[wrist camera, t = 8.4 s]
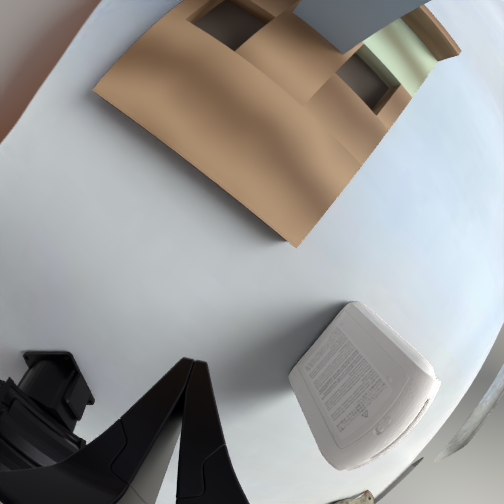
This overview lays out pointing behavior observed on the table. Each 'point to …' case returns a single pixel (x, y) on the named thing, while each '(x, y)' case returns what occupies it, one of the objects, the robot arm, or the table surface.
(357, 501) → the decorative bird
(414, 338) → the table surface
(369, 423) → the photo printer
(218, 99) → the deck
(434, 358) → the table surface
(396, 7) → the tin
